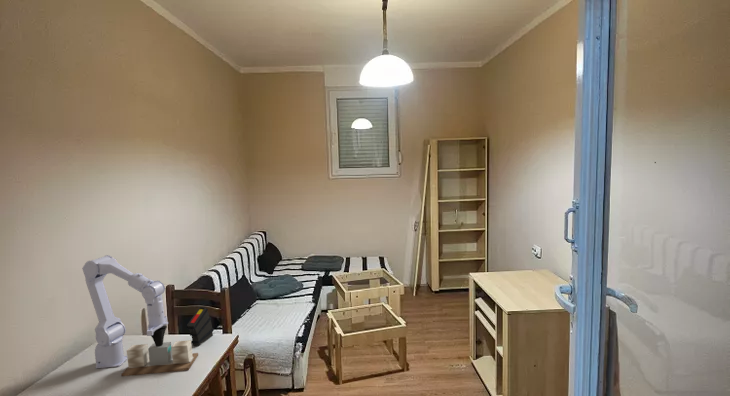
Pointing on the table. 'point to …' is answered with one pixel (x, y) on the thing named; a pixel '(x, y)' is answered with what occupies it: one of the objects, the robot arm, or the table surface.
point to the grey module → (160, 354)
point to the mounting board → (141, 365)
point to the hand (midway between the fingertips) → (159, 345)
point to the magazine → (200, 327)
